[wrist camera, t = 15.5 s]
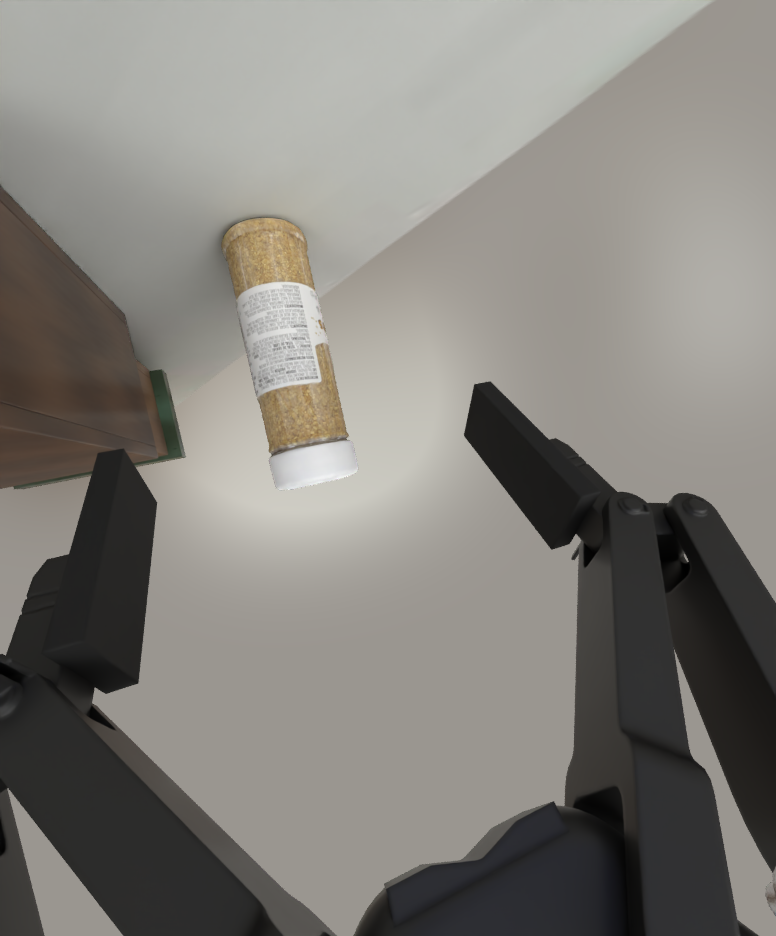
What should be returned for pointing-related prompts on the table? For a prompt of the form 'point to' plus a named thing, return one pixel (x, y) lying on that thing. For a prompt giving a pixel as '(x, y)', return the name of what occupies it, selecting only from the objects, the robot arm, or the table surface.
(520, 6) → the table surface
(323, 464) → the sprinkles bottle
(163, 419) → the drawer
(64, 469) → the cabinet
